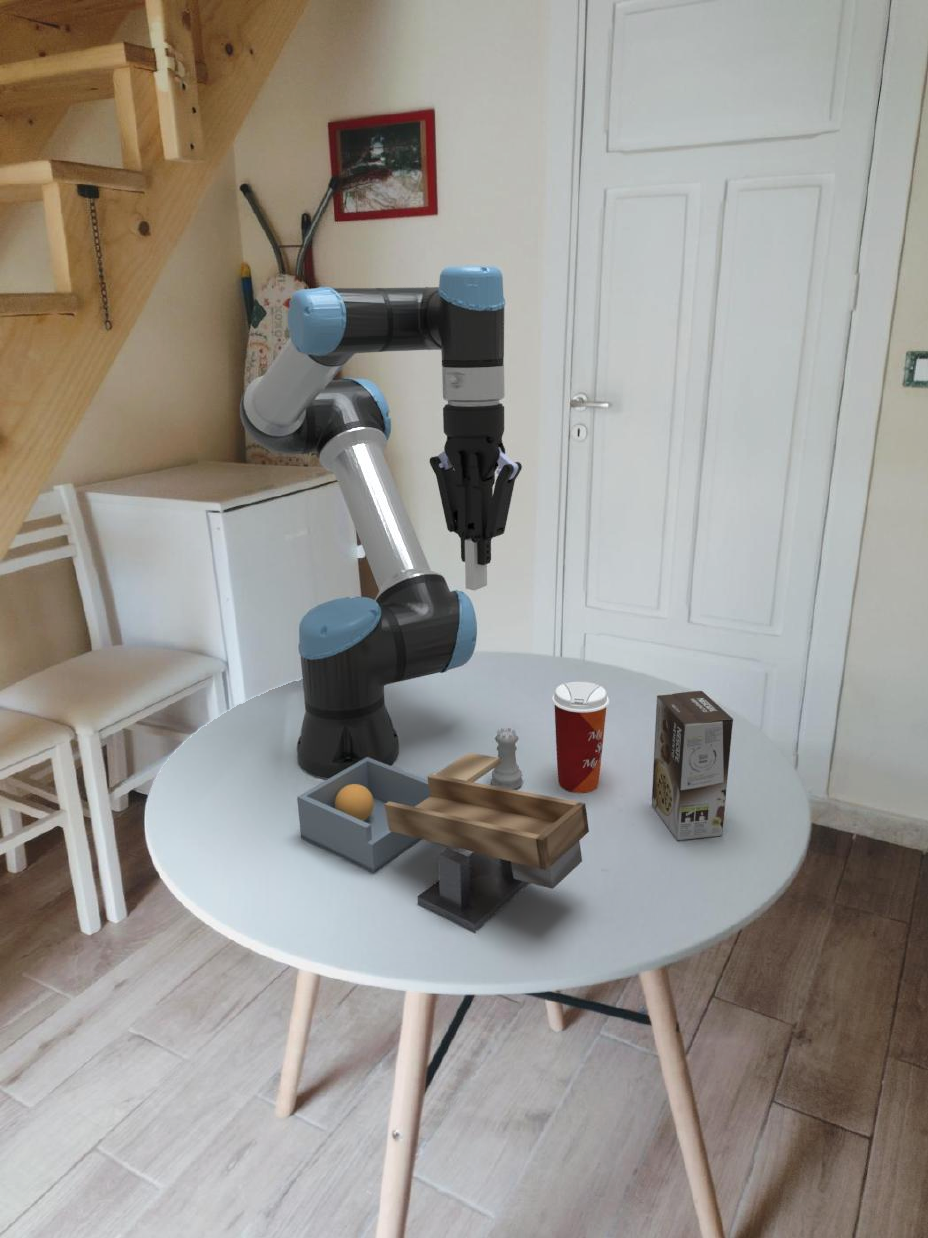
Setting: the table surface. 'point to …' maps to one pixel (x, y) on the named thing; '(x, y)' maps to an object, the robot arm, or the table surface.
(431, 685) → the table surface
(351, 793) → the ball
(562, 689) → the paper cup
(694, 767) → the coffee box
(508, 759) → the rook chess piece
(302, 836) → the bin
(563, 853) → the chute
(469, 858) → the stand
